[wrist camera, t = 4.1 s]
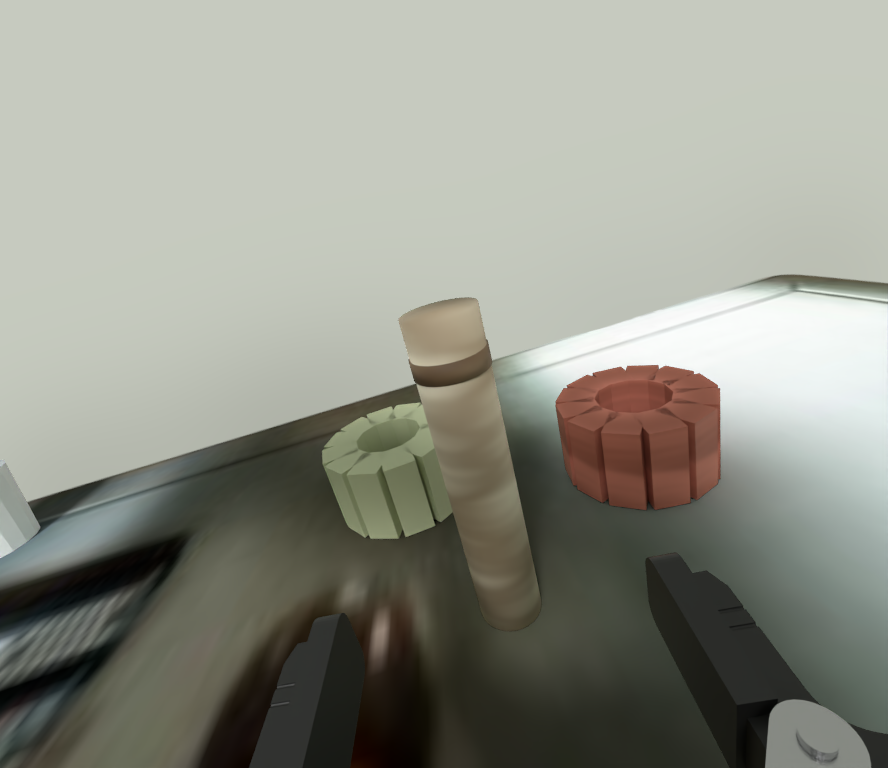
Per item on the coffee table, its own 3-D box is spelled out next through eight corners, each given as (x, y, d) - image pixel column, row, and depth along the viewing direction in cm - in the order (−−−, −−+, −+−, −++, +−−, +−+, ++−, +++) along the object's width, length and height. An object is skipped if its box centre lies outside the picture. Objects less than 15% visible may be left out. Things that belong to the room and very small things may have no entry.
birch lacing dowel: (482, 637, 21) (393, 330, 15) (477, 584, 23) (400, 310, 18) (549, 625, 20) (483, 309, 15) (535, 573, 23) (475, 292, 18)
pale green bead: (350, 558, 28) (323, 493, 26) (342, 483, 36) (321, 429, 34) (487, 505, 29) (471, 440, 27) (448, 445, 37) (434, 392, 36)
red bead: (591, 522, 26) (581, 448, 24) (553, 442, 34) (543, 384, 32) (755, 490, 25) (758, 411, 23) (674, 417, 33) (671, 355, 32)
